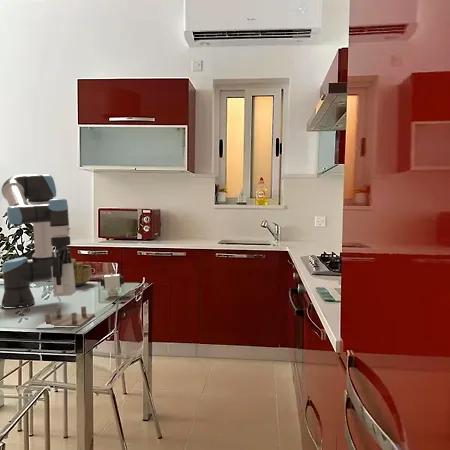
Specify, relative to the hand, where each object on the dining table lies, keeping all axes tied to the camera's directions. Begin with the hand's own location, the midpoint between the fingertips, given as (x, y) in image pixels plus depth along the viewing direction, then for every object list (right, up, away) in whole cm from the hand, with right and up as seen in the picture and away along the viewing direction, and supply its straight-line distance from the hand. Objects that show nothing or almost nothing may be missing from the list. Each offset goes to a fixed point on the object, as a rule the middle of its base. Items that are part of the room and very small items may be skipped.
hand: (64, 290), depth 199 cm
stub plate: (+1, -13, +1) cm, 13 cm away
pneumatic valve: (+9, -10, +50) cm, 52 cm away
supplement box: (0, -2, 0) cm, 2 cm away
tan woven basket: (-21, -9, +87) cm, 90 cm away
